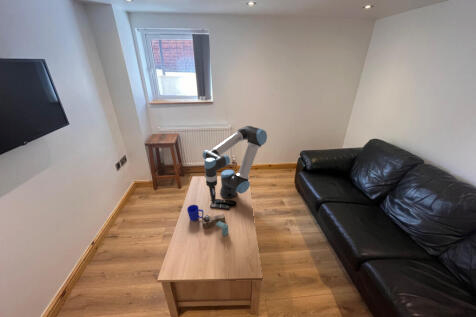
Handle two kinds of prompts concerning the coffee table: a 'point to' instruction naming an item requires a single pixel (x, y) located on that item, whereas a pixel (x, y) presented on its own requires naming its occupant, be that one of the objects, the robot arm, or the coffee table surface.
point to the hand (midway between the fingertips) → (213, 206)
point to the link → (212, 220)
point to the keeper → (223, 227)
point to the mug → (194, 212)
